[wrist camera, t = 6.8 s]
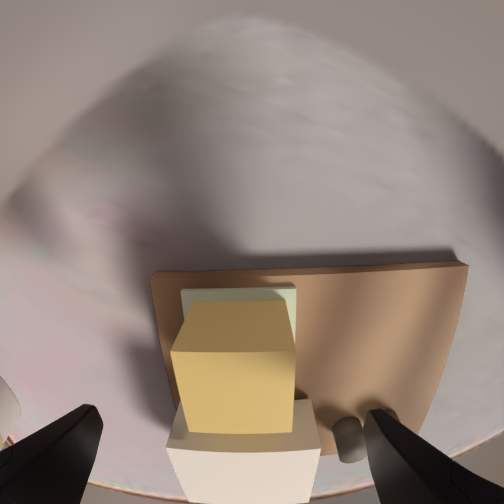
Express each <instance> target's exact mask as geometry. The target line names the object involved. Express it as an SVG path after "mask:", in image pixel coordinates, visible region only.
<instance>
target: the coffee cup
mask: <svg viewBox="0 0 504 504" xmlns="http://www.w3.org/2000/svg"><path fill="white" fill-rule="evenodd" d="M20 416H21V408H20V405H19V403H18V401H17V399H16V397H15V395H14V394H13V392H12V391H11V389H10V388H9V387H8V385H7V384H6V383H5V381H4V380H3V379H2V378H1V377H0V451H1V449H2V447H3V446H4V442H5V440H6V439H7V437H8V435H9V434H10V432H11V430H12V429H13V427H14V426H15V424H16V423H17V421H18V419H19V418H20Z"/></svg>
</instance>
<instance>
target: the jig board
mask: <svg viewBox="0 0 504 504" xmlns="http://www.w3.org/2000/svg"><path fill="white" fill-rule="evenodd" d="M468 267H469V265H467V264H465V263H463V262H461V261H459V260H458V261H441V262H424V263H405V264H385V265H364V266H341V267H316V268H288V269H256V270H219V271H169V272H155V273H154V274H153V275H152V276H151V277H150V286H151V292H152V299H153V305H154V311H155V317H156V322H157V328H158V333H159V338H160V343H161V348H162V353H163V358H164V362H165V367H166V371H167V376H168V380H169V384H170V388H171V392H172V396H173V400H174V404H175V408H176V412H177V409H178V406H179V403H180V400H181V399H180V394H179V390H178V386H177V382H176V377H175V373H174V368H173V363H172V358H171V353H170V350H171V348H172V346H173V344H174V342H175V340H176V338H177V335H178V333H179V331H180V329H181V327H182V325H183V323H184V314H183V307H182V299H181V290H182V289H213V288H258V287H288V286H296V330H295V347H296V367H295V388H294V400H302V399H311V402H312V407H313V412H314V416H315V421H316V426H317V431H318V436H319V440H320V445H321V452H320V456H324V455H332V454H338V455H339V459H340V461H341V462H343V463H354V462H357V461H360V460H362V459H363V458H365V457H366V456H367V449H366V444H365V439H364V434H363V426H364V422H365V419H366V415H367V412H368V411H369V410H370V409H376V408H381V409H383V410H384V411H386V412H387V413H388V414H390V415H391V416H392V417H394V418H395V419H396V420H398V421H399V422H400V423H402V424H403V425H405V426H406V427H407V428H409V429H410V430H411V431H413V432H414V433H416V434H417V435H418V433H419V430H420V428H421V426H422V424H423V422H424V419H425V417H426V415H427V412H428V410H429V408H430V405H431V403H432V400H433V398H434V395H435V393H436V390H437V387H438V385H439V382H440V379H441V376H442V373H443V370H444V367H445V364H446V361H447V358H448V355H449V351H450V348H451V345H452V341H453V338H454V334H455V330H456V326H457V322H458V318H459V314H460V310H461V305H462V301H463V296H464V291H465V285H466V280H467V274H468Z"/></svg>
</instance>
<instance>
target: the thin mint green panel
mask: <svg viewBox="0 0 504 504" xmlns="http://www.w3.org/2000/svg"><path fill="white" fill-rule="evenodd" d="M181 299H182V307H183V314H184V321H185V318H186V316H187V314H188V312H189V310H190V308H191V306H192V304H193V302H231V301H266V300H286V305H287V310H288V314H289V319H290V323H291V328H292V333H293V338H294V342H295V330H296V286H288V287H258V288H213V289H182V290H181Z"/></svg>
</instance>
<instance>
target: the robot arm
mask: <svg viewBox="0 0 504 504" xmlns="http://www.w3.org/2000/svg"><path fill="white" fill-rule="evenodd" d="M102 430H103V421H102V419H101V417H100V415H99V412H98V410H97V408H96V407H95V406H94V405H90V404H83V405H81V406H80V407H78V408H76V409H75V410H73V411H71V412H69V413H68V414H66V415H64V416H63V417H61V418H59V419H58V420H56V421H54V422H52V423H51V424H49V425H47V426H45V427H44V428H42V429H40V430H38V431H37V432H35V433H33V434H31V435H30V436H28V437H26V438H24V439H22V440H21V441H19V442H17V443H15V444H14V445H11V446H9V447H8V448H6V449H4V450H2V451H0V504H80V502H81V499H82V496H83V493H84V490H85V487H86V484H87V481H88V478H89V476H90V473H91V470H92V467H93V464H94V461H95V458H96V454H97V450H98V446H99V441H100V437H101V434H102ZM363 434H364V439H365V444H366V449H367V455H368V460H369V466H370V470H371V474H372V477H373V480H374V483H375V487H376V490H377V493H378V496H379V499H380V503H381V504H504V488H503V487H501V486H499V485H497V484H494V483H493V482H490V481H488V480H486V479H484V478H482V477H480V476H478V475H476V474H475V473H473V472H471V471H469V470H468V469H466V468H465V467H463V466H461V465H460V464H459V463H457V462H456V461H452V459H451V458H450V457H448V456H447V455H445V454H444V453H442V452H441V451H439V450H438V449H437V448H435V447H434V446H432V445H431V444H430V443H428V442H427V441H425V440H424V439H423V438H421V437H420V436H418V435H417V434H416V433H414V432H413V431H411V430H410V429H409V428H407V427H406V426H405V425H403V424H402V423H400V422H399V421H398V420H396V419H395V418H394V417H392V416H391V415H390V414H388V413H387V412H386V411H384V410H383V409H381V408H376V409H370V410H369V411H368V412H367V415H366V419H365V422H364V426H363Z"/></svg>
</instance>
